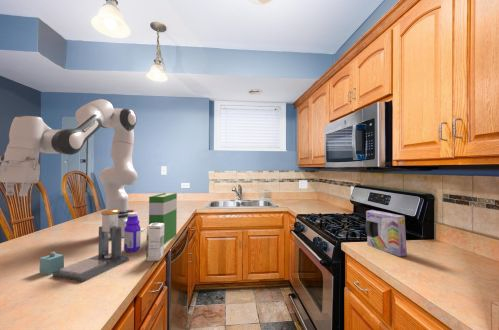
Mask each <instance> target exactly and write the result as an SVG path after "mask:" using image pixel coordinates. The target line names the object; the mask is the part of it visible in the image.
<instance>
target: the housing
mask: <svg viewBox="0 0 499 330" xmlns="http://www.w3.org/2000/svg"><path fill="white" fill-rule="evenodd" d="M64 267H65V254H62V253H61V254H60V253H56V251H50V252H49V255H46V256H42V257H39V274H42V275H48V276H50V275H53V272H55V271H57V270H60V269H61V268H64Z"/></svg>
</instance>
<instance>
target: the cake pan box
mask: <svg viewBox="0 0 499 330" xmlns="http://www.w3.org/2000/svg"><path fill="white" fill-rule="evenodd" d="M365 219H366V220H365V233H366V237H367V238H366V241H367V242H366V243H367V246H369V247H372V248H375V249H378V250H381V251H383V252H385V253H388V254H391V255H394V256H397V257H407V256H408V253H407V252H408V250H407V236H406V235H407V234H406V221H405V220H406V217H405V215H401V214H395V213H390V212H385V211H380V210H374V209H370V210H366V211H365Z"/></svg>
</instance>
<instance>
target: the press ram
mask: <svg viewBox="0 0 499 330" xmlns="http://www.w3.org/2000/svg"><path fill="white" fill-rule="evenodd" d="M118 213H119V210H118V209H110V210H107V209H104V210H101V212H100V215H101V217H102V219H101V220H102V221H101V222H102V223H101V226H102V231H103V232H107V241H109V242H111V233H112V228H114V227H118Z"/></svg>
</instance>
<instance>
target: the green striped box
mask: <svg viewBox="0 0 499 330" xmlns="http://www.w3.org/2000/svg"><path fill="white" fill-rule="evenodd" d="M177 197H178V194H177V193H176V192H175V193H172V194H169V193H165V192H164V193H160V194H156V195H150V196H148V226H149V225H150V224H151V223H164V245H165V244H167V243H168V242H169V241H171V240H172V239H173V238H174V237H176V236H177V223H178V222H177V221H178V220H177V215H178V214H177V212H178V211H177V206H178V205H177V203H178V199H177Z"/></svg>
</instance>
